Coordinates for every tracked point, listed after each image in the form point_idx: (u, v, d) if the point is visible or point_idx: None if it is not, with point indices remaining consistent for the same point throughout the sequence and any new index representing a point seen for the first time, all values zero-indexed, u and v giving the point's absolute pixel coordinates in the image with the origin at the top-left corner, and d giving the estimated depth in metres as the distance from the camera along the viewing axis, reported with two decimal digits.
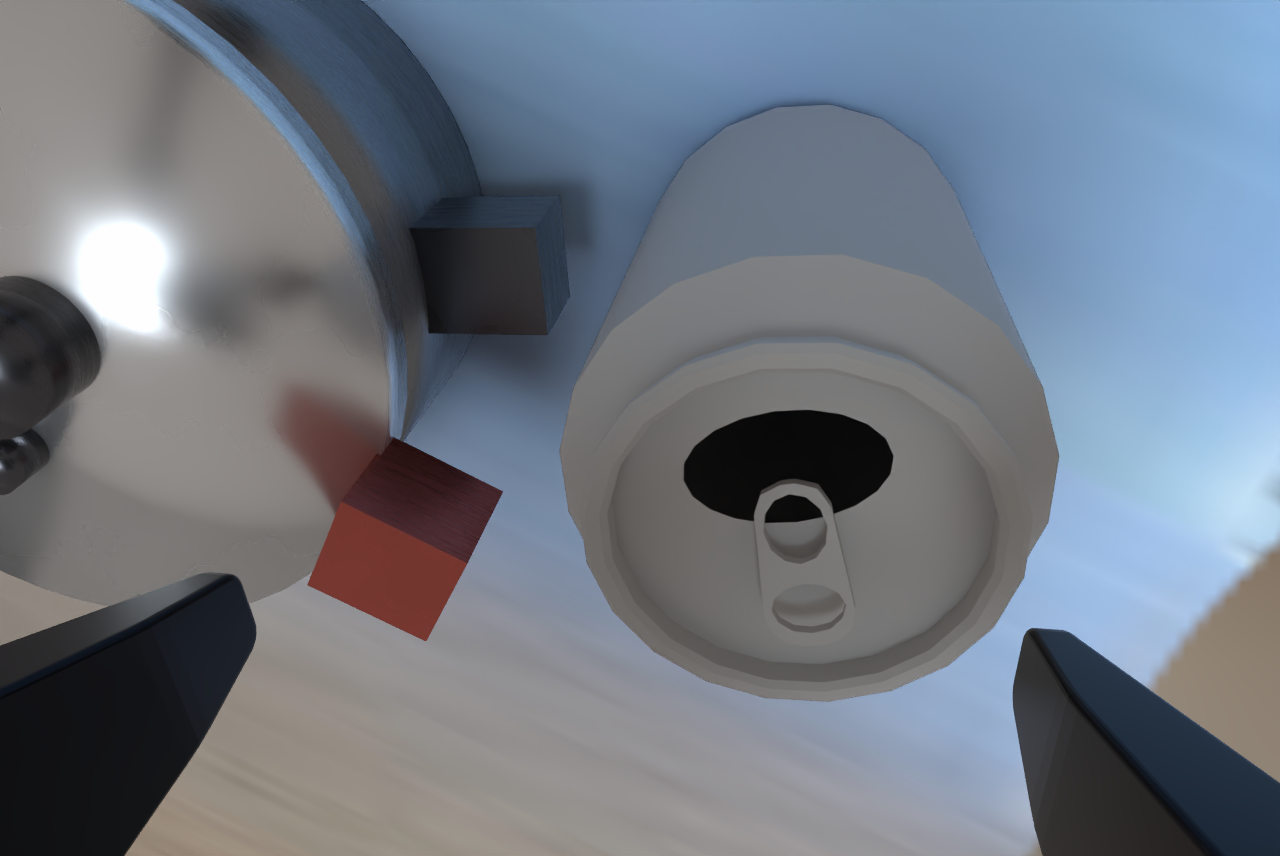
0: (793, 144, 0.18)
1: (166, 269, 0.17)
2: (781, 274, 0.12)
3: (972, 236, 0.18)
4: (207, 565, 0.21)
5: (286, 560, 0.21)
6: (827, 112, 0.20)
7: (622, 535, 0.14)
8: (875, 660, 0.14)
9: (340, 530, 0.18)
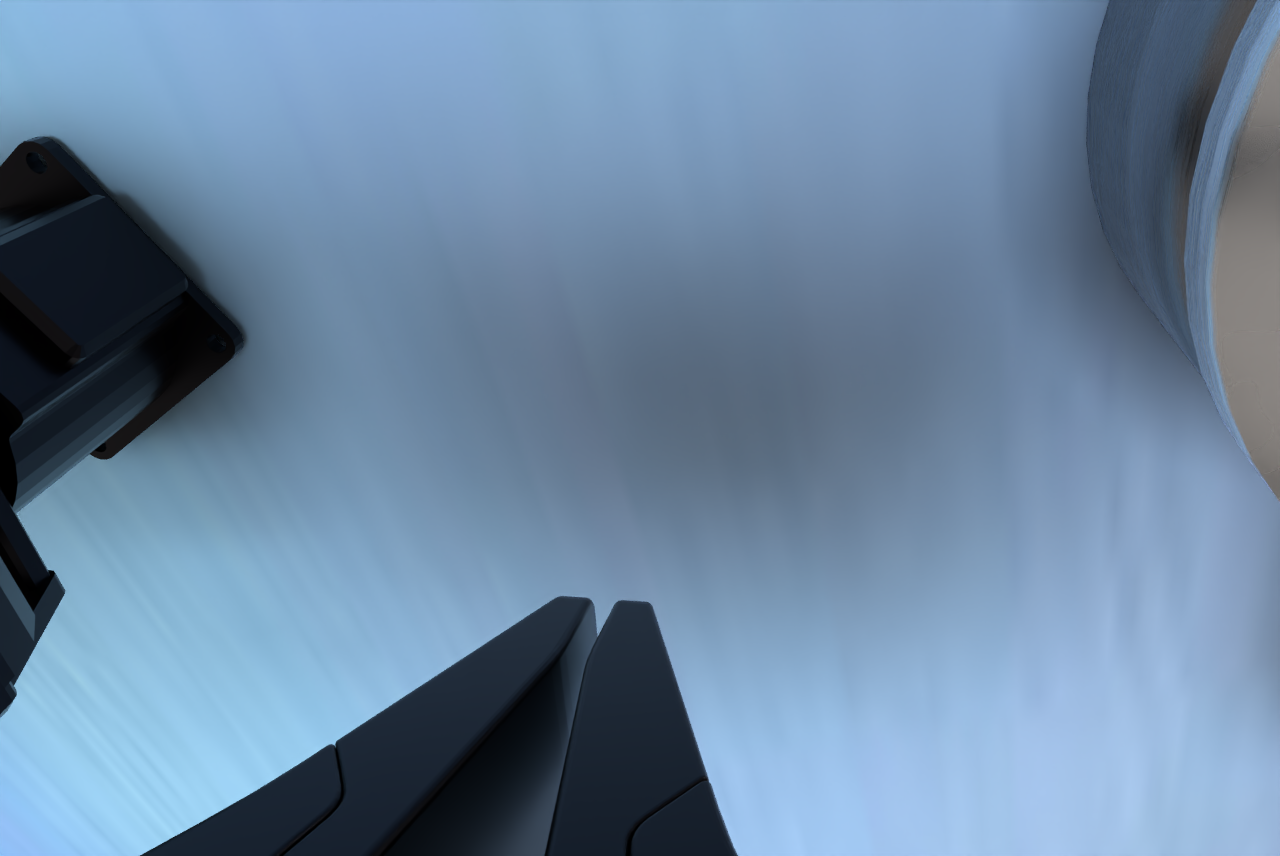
0: None
1: None
2: None
3: None
4: None
5: None
6: None
7: None
8: None
9: None
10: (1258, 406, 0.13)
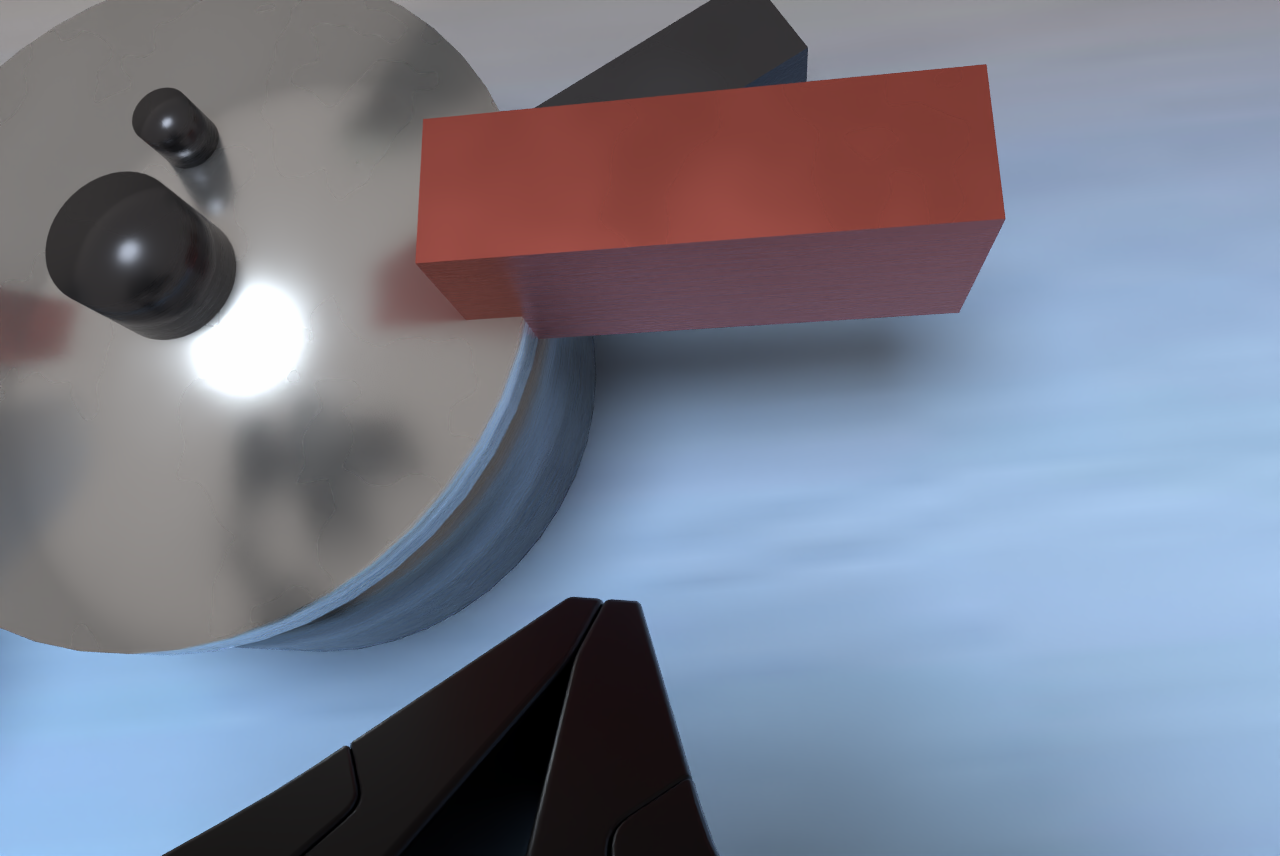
0: None
1: (52, 424, 0.18)
2: None
3: None
4: (3, 122, 0.20)
5: None
6: None
7: None
8: None
9: None
10: (272, 601, 0.16)
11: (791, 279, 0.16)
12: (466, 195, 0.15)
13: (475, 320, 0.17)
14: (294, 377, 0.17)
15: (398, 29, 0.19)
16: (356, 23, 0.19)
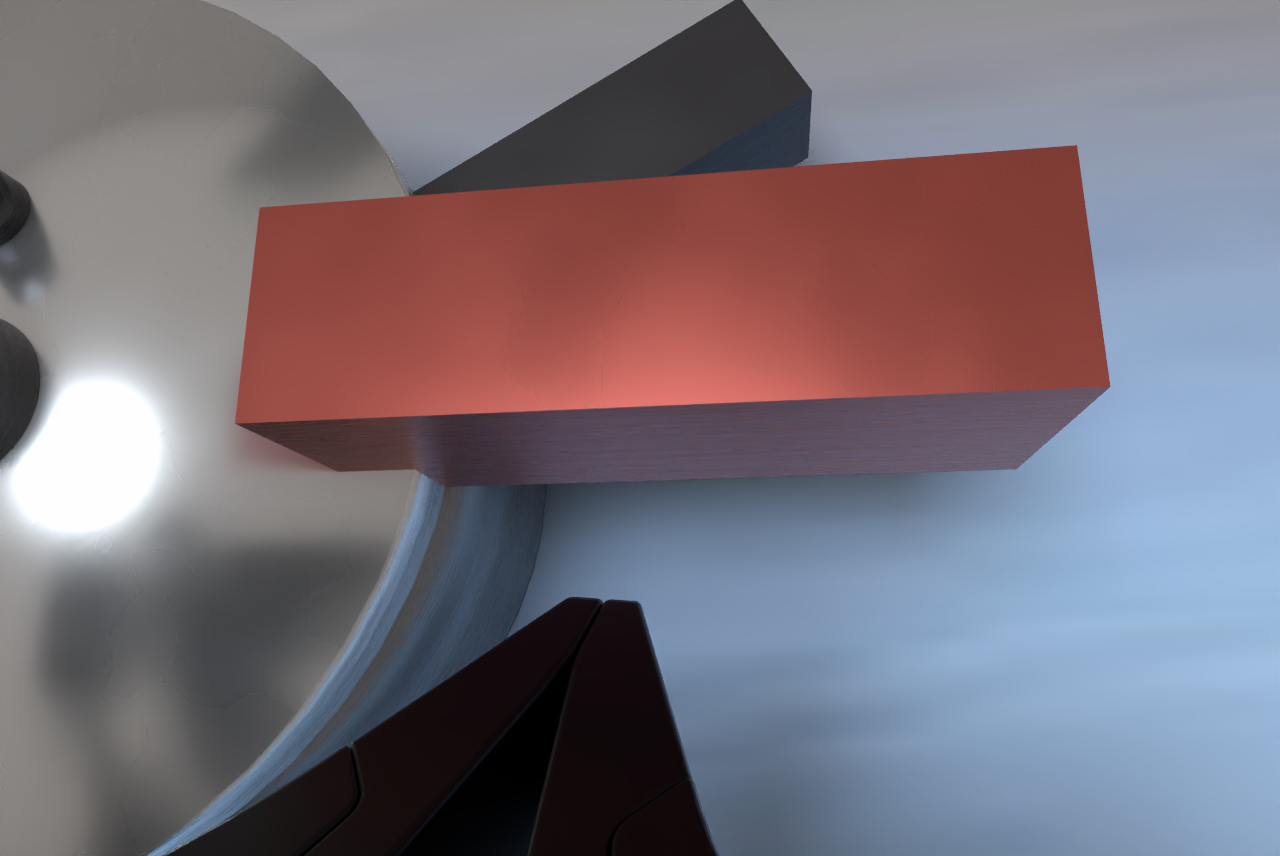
0: None
1: None
2: None
3: None
4: None
5: None
6: None
7: None
8: None
9: None
10: None
11: (785, 439, 0.11)
12: (312, 323, 0.10)
13: (351, 473, 0.13)
14: (105, 545, 0.13)
15: (270, 67, 0.14)
16: (217, 58, 0.15)
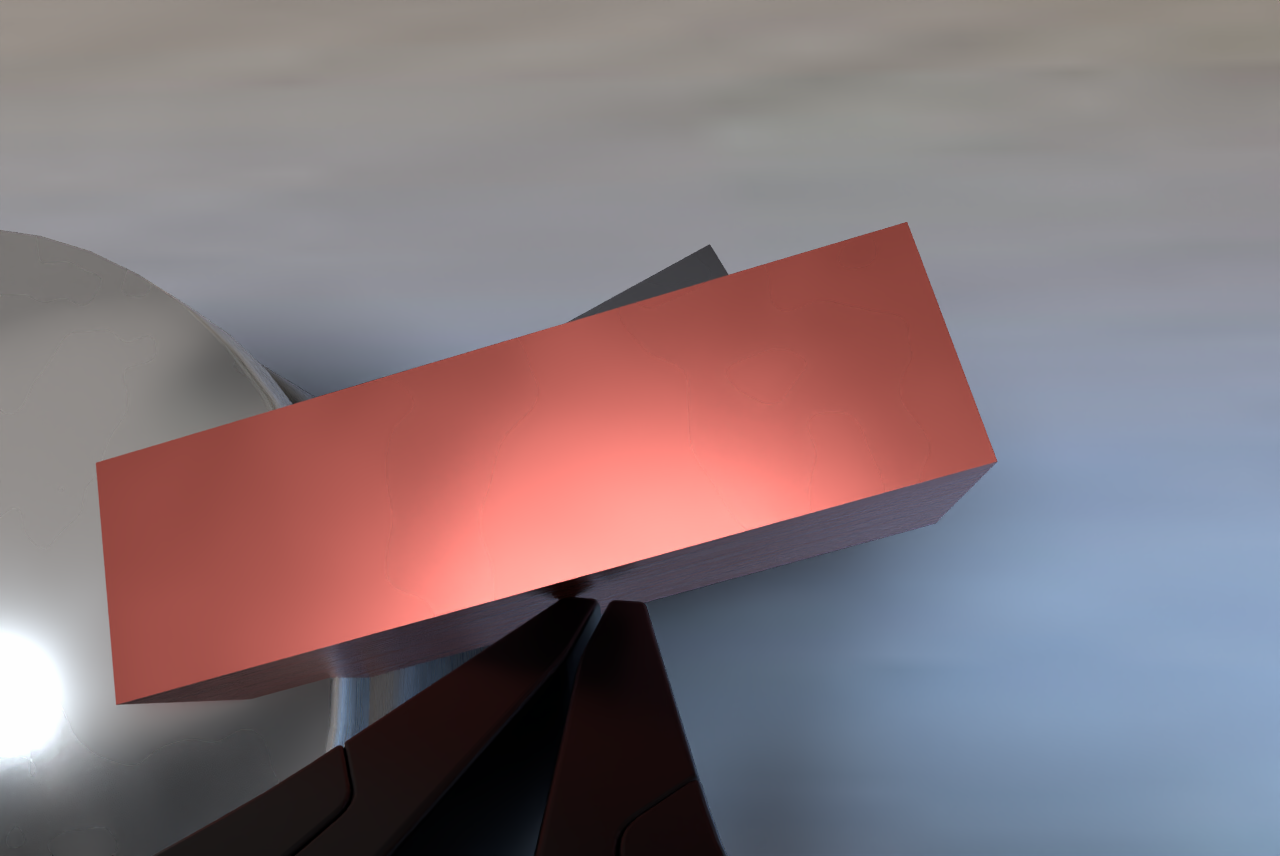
0: None
1: None
2: None
3: None
4: None
5: None
6: None
7: None
8: None
9: None
10: None
11: (697, 567, 0.11)
12: (176, 575, 0.10)
13: (264, 697, 0.12)
14: (17, 839, 0.12)
15: (90, 285, 0.14)
16: (31, 287, 0.14)
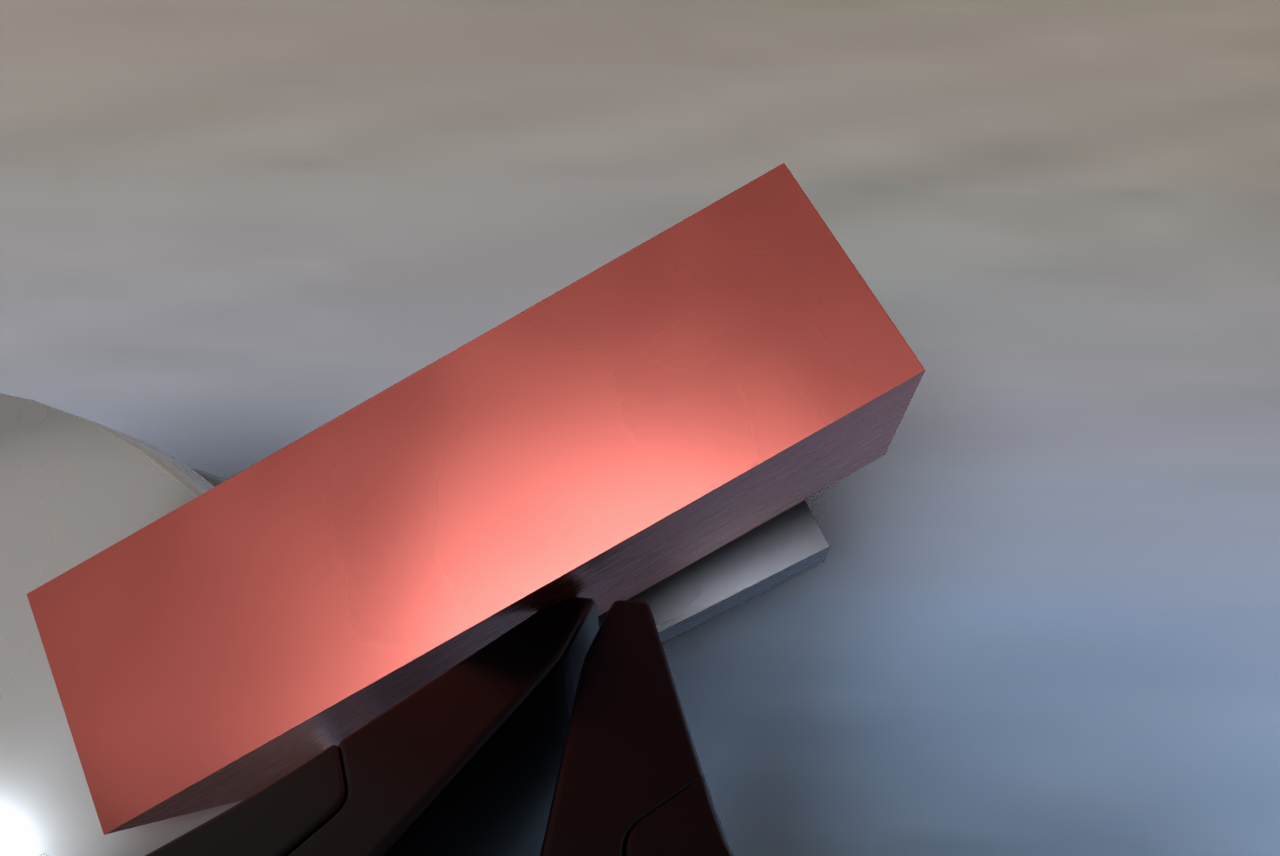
0: None
1: None
2: None
3: None
4: None
5: None
6: None
7: None
8: None
9: None
10: None
11: (665, 549, 0.10)
12: (137, 686, 0.09)
13: None
14: None
15: None
16: None
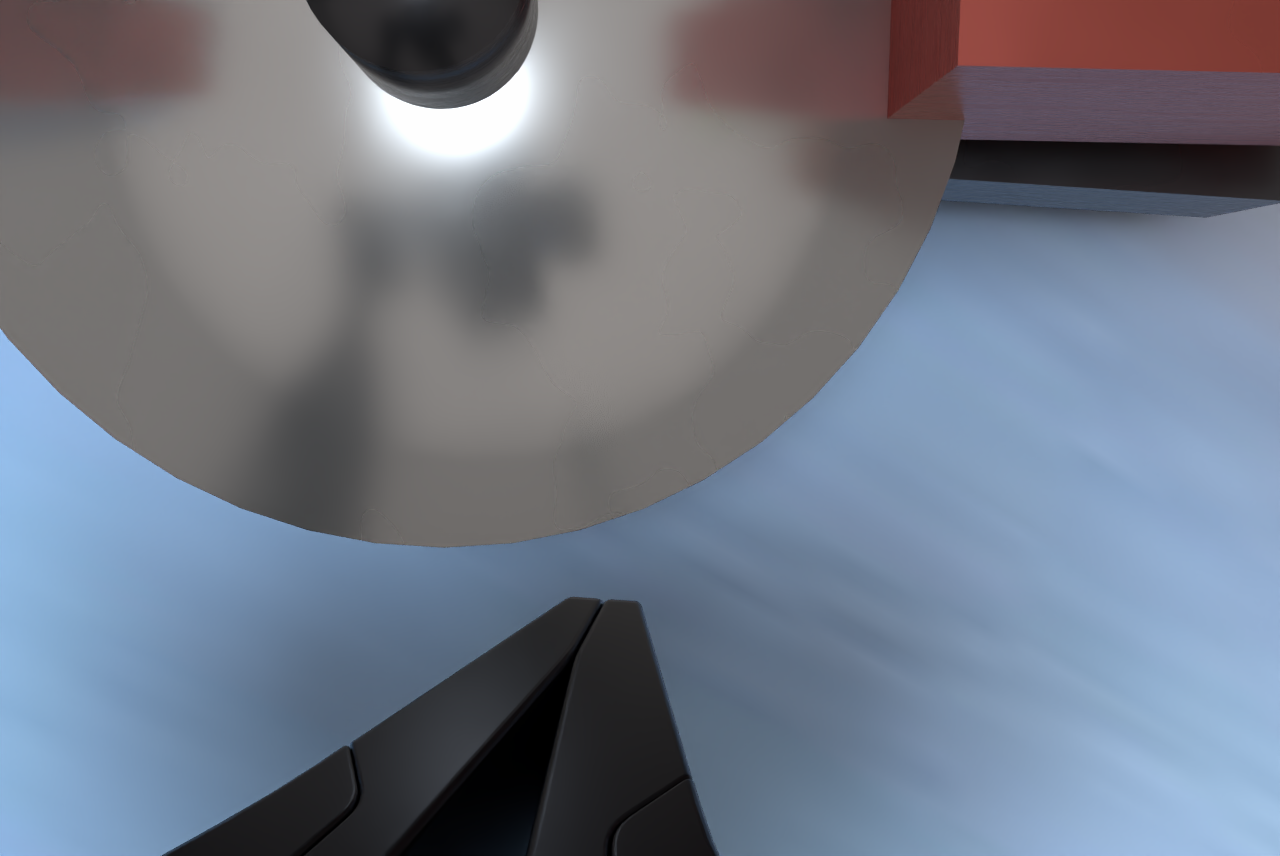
0: None
1: (276, 229, 0.12)
2: None
3: None
4: None
5: None
6: None
7: None
8: None
9: None
10: (637, 487, 0.13)
11: None
12: None
13: (901, 120, 0.13)
14: (643, 183, 0.13)
15: None
16: None
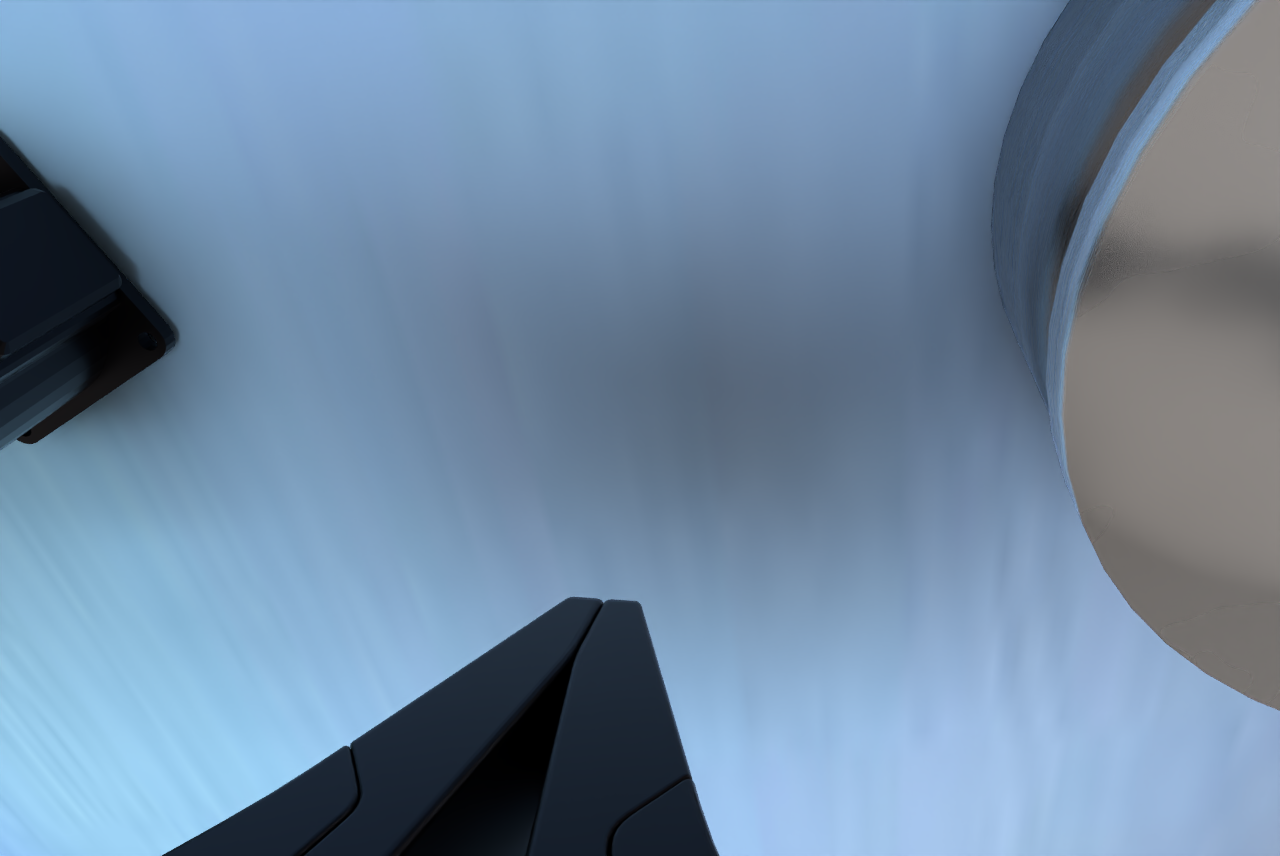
0: None
1: None
2: None
3: None
4: None
5: None
6: None
7: None
8: None
9: None
10: (1224, 663, 0.15)
11: None
12: None
13: None
14: None
15: None
16: None
